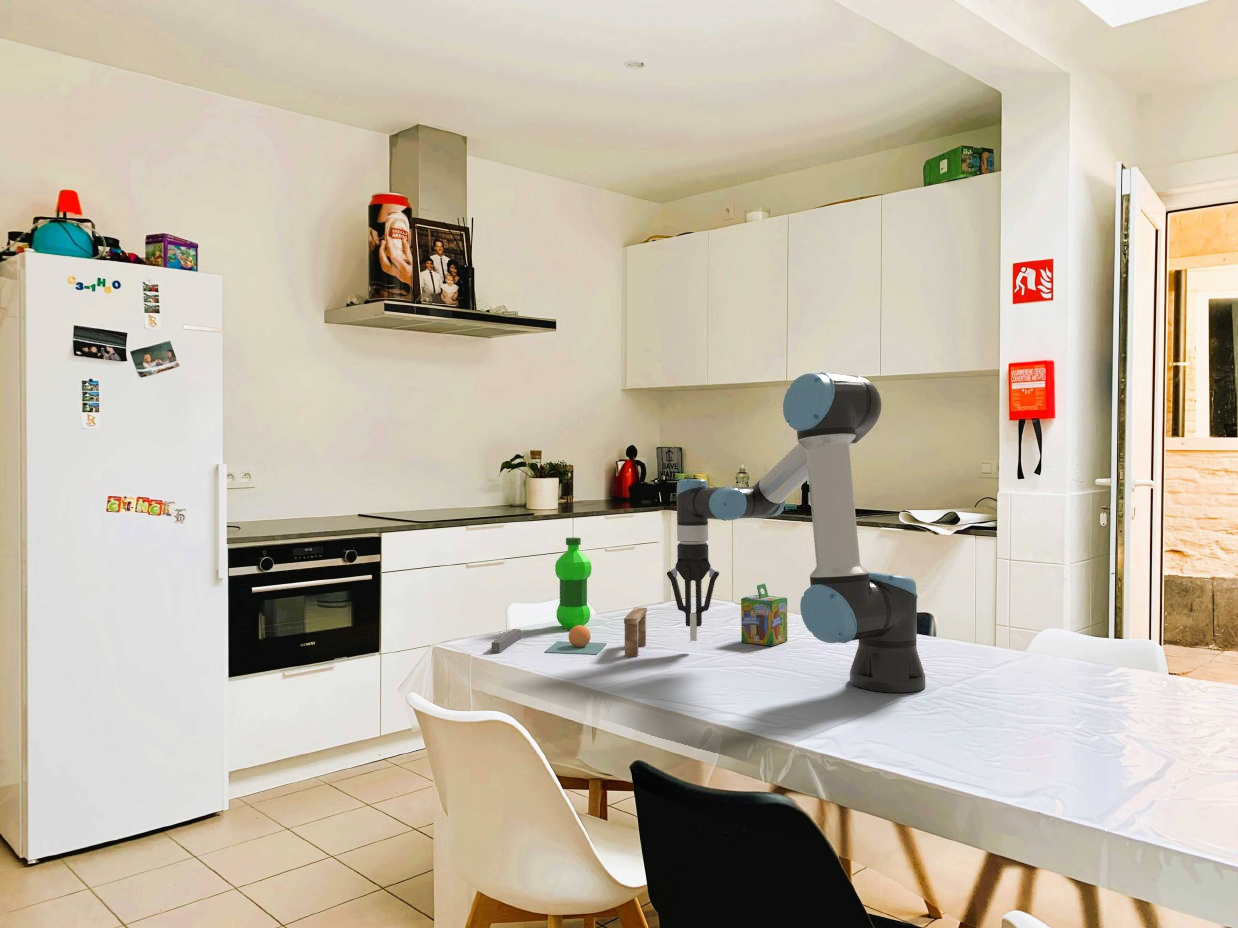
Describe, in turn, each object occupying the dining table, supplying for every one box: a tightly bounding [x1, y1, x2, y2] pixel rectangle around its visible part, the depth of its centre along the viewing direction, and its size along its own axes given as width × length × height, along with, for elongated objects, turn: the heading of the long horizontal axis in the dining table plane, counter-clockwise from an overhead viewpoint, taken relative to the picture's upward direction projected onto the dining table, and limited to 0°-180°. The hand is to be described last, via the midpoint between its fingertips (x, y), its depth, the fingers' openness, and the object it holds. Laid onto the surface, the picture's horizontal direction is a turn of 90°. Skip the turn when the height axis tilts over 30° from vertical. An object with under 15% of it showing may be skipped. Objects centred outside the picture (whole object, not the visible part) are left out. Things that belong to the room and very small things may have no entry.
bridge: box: [623, 607, 648, 658], centre depth 222 cm, size 3×16×9 cm, turn 170°
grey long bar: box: [491, 628, 522, 654], centre depth 228 cm, size 18×2×2 cm, turn 170°
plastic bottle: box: [554, 537, 592, 630], centre depth 253 cm, size 10×10×25 cm
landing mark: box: [543, 640, 608, 656], centre depth 225 cm, size 13×13×1 cm
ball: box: [568, 625, 591, 647], centre depth 226 cm, size 6×6×6 cm
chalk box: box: [740, 583, 788, 647], centre depth 233 cm, size 9×9×15 cm
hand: (693, 639), depth 220 cm, fingers closed
